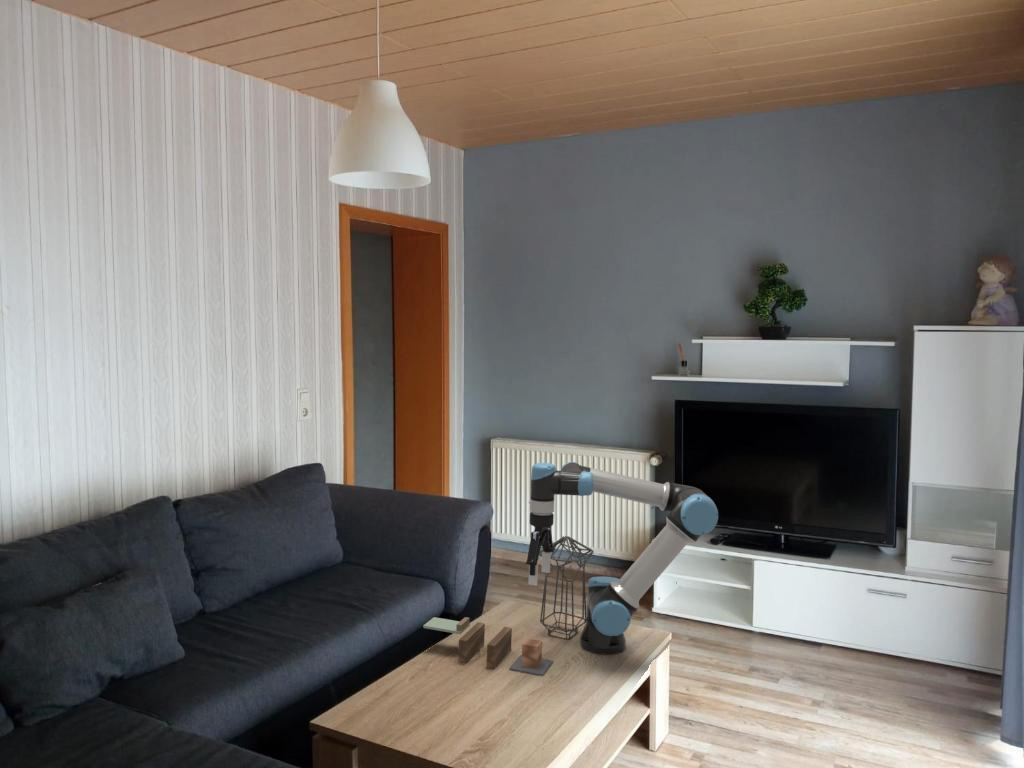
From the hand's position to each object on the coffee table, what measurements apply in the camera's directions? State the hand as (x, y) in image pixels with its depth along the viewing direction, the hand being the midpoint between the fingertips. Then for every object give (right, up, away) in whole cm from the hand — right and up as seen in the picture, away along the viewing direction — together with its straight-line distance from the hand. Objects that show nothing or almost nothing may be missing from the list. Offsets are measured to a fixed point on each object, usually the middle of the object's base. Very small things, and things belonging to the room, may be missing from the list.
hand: (539, 578), depth 260 cm
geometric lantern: (+9, -25, +23) cm, 35 cm away
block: (-2, -26, -2) cm, 27 cm away
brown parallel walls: (-17, -26, +4) cm, 31 cm away
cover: (-30, -18, +8) cm, 36 cm away
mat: (-2, -27, -2) cm, 27 cm away
